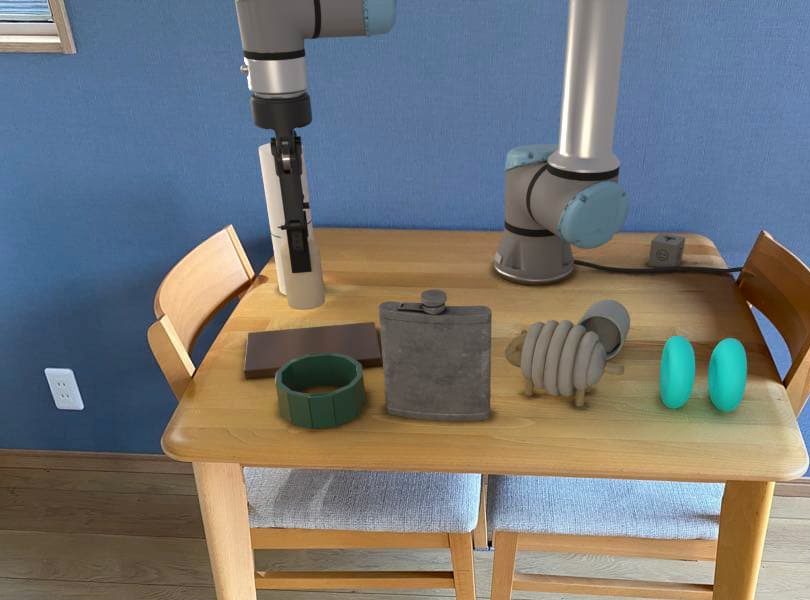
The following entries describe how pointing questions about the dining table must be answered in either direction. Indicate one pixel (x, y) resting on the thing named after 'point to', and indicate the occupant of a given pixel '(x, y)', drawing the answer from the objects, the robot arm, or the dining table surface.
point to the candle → (304, 280)
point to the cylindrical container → (279, 206)
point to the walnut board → (309, 346)
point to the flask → (436, 359)
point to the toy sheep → (560, 359)
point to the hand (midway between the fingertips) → (301, 262)
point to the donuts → (722, 374)
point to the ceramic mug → (608, 324)
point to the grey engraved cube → (666, 250)
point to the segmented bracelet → (320, 406)
